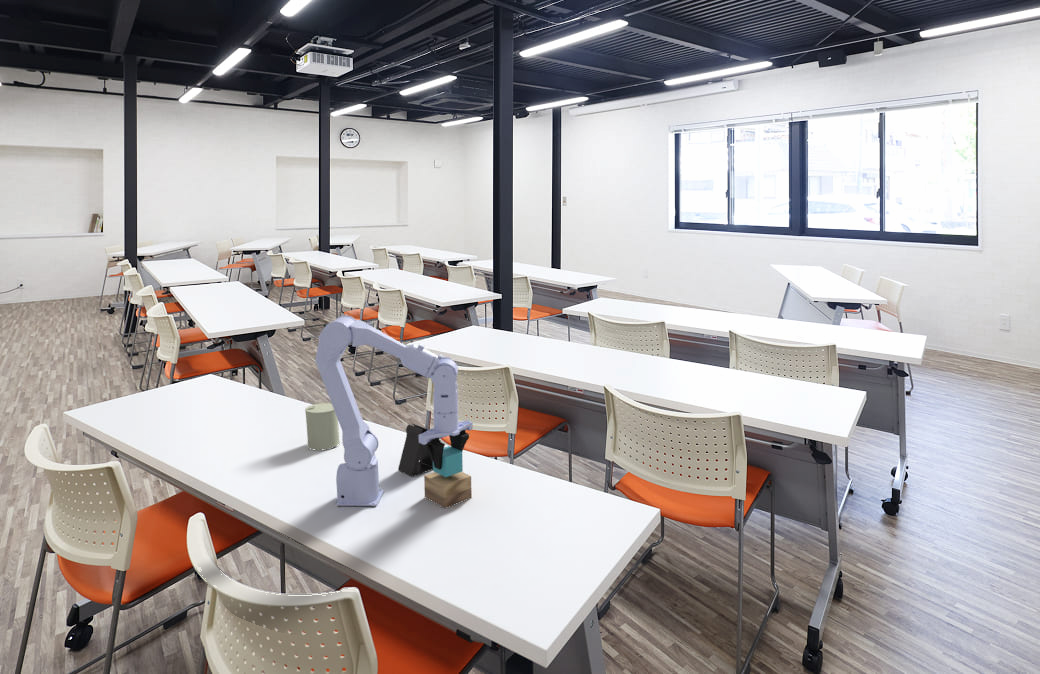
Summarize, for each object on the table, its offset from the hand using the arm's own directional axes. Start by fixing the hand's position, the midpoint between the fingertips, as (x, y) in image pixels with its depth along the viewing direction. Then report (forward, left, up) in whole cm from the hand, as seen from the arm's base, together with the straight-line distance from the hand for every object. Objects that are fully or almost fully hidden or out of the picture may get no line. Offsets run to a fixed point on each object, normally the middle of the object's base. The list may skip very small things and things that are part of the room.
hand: (447, 464), depth 147 cm
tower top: (0, 0, -6) cm, 6 cm away
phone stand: (-10, +17, -9) cm, 22 cm away
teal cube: (0, 0, -2) cm, 2 cm away
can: (-41, +34, -9) cm, 54 cm away
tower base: (0, 0, -9) cm, 9 cm away
